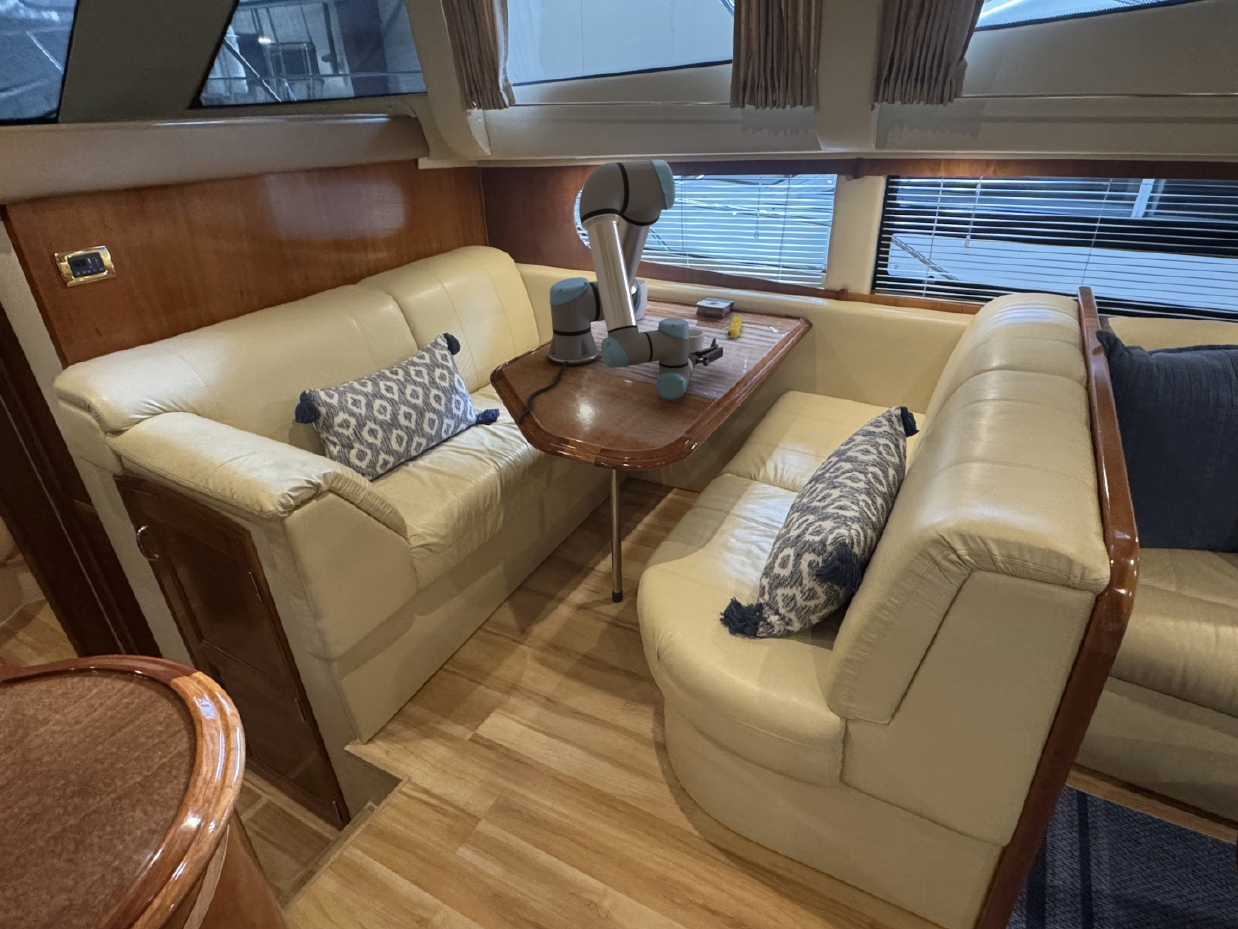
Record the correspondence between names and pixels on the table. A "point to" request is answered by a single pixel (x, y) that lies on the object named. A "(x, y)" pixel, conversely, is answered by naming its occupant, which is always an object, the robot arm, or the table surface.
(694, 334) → the cup
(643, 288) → the mug
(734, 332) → the yellow bumpy cylinder
